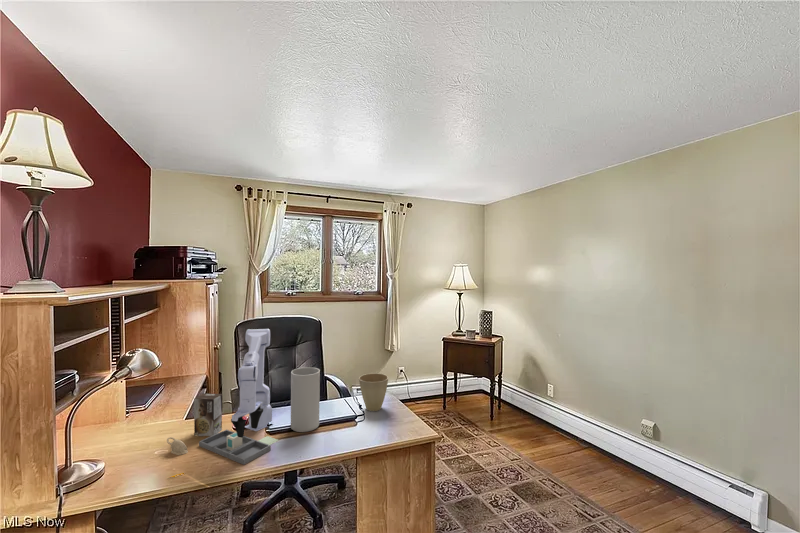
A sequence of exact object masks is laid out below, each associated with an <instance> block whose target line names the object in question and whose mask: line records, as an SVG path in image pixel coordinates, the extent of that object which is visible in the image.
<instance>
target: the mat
mask: <svg viewBox="0 0 800 533" xmlns="http://www.w3.org/2000/svg"><path fill="white" fill-rule="evenodd" d="M279 440H280V439H278V438H275V437H271V436H269V435H267V436H265V437H262V438H261V439H259V440H257V441H260V442H263V443H265V444H268V445H271V446H272V445H273V444H275V443H277V442H278V441H279Z"/></svg>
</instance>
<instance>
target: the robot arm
mask: <svg viewBox="0 0 800 533" xmlns="http://www.w3.org/2000/svg"><path fill="white" fill-rule="evenodd" d="M245 343H246V344H247V346H248V352H246V353H245V354H244V357H243V360H242V365H241V367H238V368H239V369H238V372H237V379H238V380H237V381H238V387H239V406H238V408H237V411H236V412H235V413H234V414H232V415H231V418H230V423H231V424H232V425H233V426H234V428H235V432H237V436H238V437H241V438H242V437H243V436H245V429H247V430H250V431H254V432H258V431H260V430H262V429H265V428H268V426H267V424H268V423H269V422H271V421H272V422H273V408H272V406H271V404H270V402H271V392H270V387H269V386H268V385H266V384H265V383H264V382H265V381H264V379H265V378H264V376H265V351H266V348H268V347H269V346H270V345H271V329H269V328H258V329H257V328H256V329H255V328H254V329H253V328H251V329H250V328H248V329H246V331H245ZM247 415H248V422H249V423H248V424H247V425H246V423H247V419H244V418H243V417H245V416H247Z"/></svg>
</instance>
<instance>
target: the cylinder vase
mask: <svg viewBox="0 0 800 533" xmlns="http://www.w3.org/2000/svg"><path fill="white" fill-rule="evenodd" d="M320 371H321V369H320V368H317V367H308V366H307V367H299V368H295V369H292V370H291V372H290V429H291V430H293V432H296V433H307V432H312V431H314V430H316V429H317V428H318V427H319V426H320V400H321V399H320V398H321V397H320V388H321V387H320V381H321V374H320V373H321V372H320Z"/></svg>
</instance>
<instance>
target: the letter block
mask: <svg viewBox="0 0 800 533" xmlns="http://www.w3.org/2000/svg"><path fill="white" fill-rule="evenodd" d="M234 432H235V433H233V434H231V435H228V436H227V449H228V450H233V449H235V448H238V447H240V446H242V438H241V437H238V436H237V432H236V431H234Z"/></svg>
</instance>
